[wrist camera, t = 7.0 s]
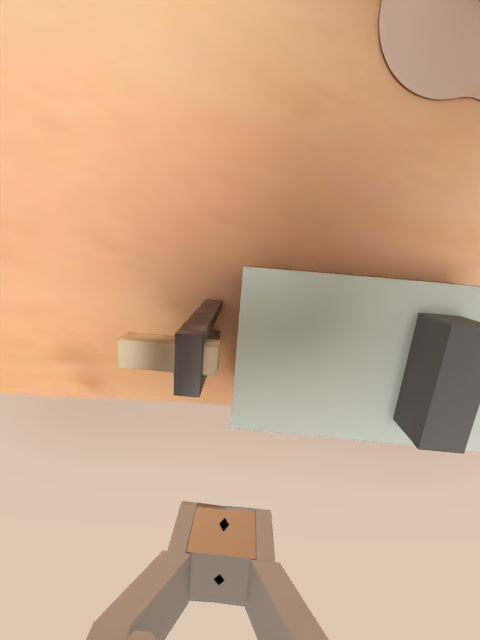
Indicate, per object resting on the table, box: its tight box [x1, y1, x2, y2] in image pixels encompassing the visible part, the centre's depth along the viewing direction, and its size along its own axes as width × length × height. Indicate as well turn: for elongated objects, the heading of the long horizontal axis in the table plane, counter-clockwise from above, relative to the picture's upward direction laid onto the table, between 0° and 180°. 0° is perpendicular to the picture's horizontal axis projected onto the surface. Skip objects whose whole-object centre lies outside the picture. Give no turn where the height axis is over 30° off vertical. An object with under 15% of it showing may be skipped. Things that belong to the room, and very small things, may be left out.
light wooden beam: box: [118, 332, 221, 376], centre depth 24 cm, size 8×2×2 cm, turn 85°
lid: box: [230, 266, 480, 453], centre depth 24 cm, size 25×15×6 cm, turn 85°
